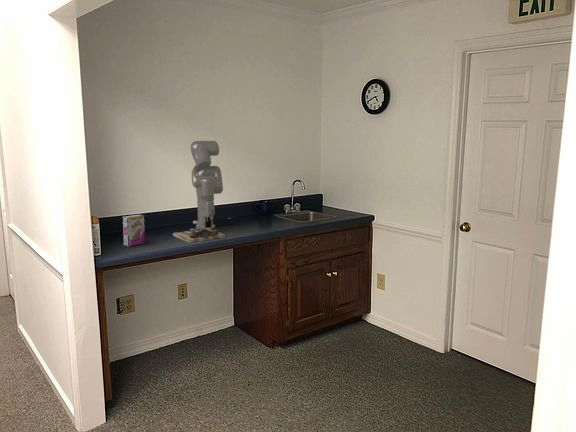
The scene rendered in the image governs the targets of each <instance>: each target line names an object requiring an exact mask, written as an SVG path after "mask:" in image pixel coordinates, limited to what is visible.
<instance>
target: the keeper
mask: <svg viewBox="0 0 576 432" xmlns="http://www.w3.org/2000/svg"><path fill="white" fill-rule="evenodd" d="M195 229H196V231H199V232H201V238H206V237H208V230H207V229H204V228H201V227H199V228H196V227H195Z"/></svg>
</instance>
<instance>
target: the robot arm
mask: <svg viewBox="0 0 576 432" xmlns="http://www.w3.org/2000/svg"><path fill="white" fill-rule="evenodd" d="M190 152H191V156H192V157H193V158H192V159H193V161H194V162H195V165H194V166H193V168H192V170H191V183H192V186H193V187H194V188H195V192H196V198H197V199H196V202H197V203H196V204H197V220H193V221H192V224H193V225H195V229H196V228H199V227H201V228H204V229H211V230H213V229H215V228H216V225H215V224H214V223H213V222H214V221H213V220H214V217H215V215H216V214H215V203H214V202H215V201H214V200H215V195H219V194H222V193H223V190H224V185H223V184H224V183H223V177H222V170H221V168H220V166H219V165H212V158H211V156H212V157H213V156H214V157H215V156H218V155H219V154H220V147H219V144H218V142H217V141H215V140H195V141H193V142H192V143H191V144H190Z"/></svg>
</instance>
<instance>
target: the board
mask: <svg viewBox="0 0 576 432" xmlns="http://www.w3.org/2000/svg"><path fill="white" fill-rule="evenodd" d="M207 230H212V229H207ZM195 232H199V231H196V230H195ZM189 233H192V231H191V230H187V231H186V230H185V231H181V232H180V231H179V232H173V233H172V236H173V237H175V238H177V239H180V240H182V241H185V242H186V243H197V242H202V241H203V240H204V241H207V240H208V241H210V240H215V239H217V240H218V239H224V238H226V237H227V234H225V233H222V232H219V234H216V235H209V236H208V237H206V238H201V237H195V238H190V234H189ZM204 241H203V242H204Z"/></svg>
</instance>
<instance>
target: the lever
mask: <svg viewBox="0 0 576 432" xmlns="http://www.w3.org/2000/svg"><path fill="white" fill-rule="evenodd" d="M195 230H196V227H195V228H190V230H189V231H192V233H189V234H190V238H195V237H201V232H195ZM216 234H219V230H218V229H211V230H208V236H209V235H216Z"/></svg>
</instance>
